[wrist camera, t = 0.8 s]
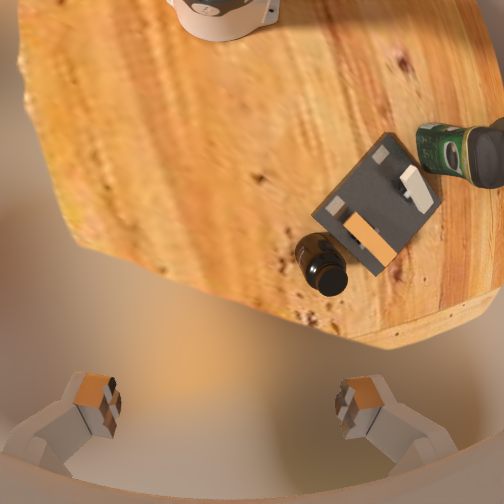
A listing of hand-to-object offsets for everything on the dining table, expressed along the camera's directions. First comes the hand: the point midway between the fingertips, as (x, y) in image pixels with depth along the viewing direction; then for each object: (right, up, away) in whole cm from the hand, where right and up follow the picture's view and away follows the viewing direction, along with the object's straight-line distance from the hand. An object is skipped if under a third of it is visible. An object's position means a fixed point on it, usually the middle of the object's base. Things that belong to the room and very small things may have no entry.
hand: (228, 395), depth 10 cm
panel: (+24, +13, +42) cm, 50 cm away
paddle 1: (+21, +7, +40) cm, 45 cm away
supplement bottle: (+12, +5, +45) cm, 46 cm away
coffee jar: (+34, +25, +39) cm, 57 cm away
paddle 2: (+28, +16, +37) cm, 49 cm away
